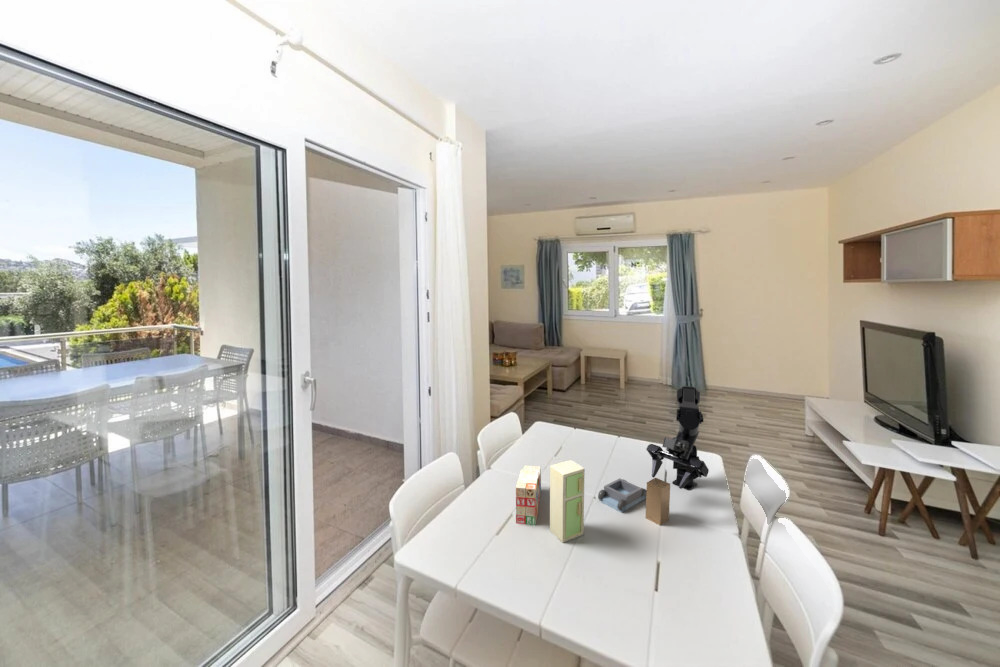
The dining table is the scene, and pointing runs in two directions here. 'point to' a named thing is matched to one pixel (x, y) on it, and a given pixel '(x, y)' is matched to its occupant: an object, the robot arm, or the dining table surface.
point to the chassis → (621, 495)
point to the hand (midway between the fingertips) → (665, 482)
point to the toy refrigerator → (567, 500)
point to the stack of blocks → (528, 495)
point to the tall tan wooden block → (657, 501)
